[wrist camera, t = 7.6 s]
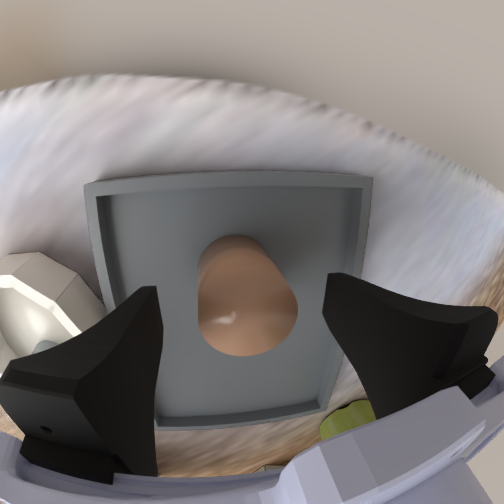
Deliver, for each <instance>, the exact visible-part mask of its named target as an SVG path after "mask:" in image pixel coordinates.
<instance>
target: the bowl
mask: <svg viewBox="0 0 504 504" xmlns="http://www.w3.org/2000/svg"><path fill="white" fill-rule="evenodd" d="M105 316H107V312H106V308H105V306H104V305H103V304H102V303H101V302H100V300H99V299H98V298H97V297H96V296H95V294H94V293H93V292H92V291H91V289H90V288H89V287H88V286H87V284H86V283H85V282H84V281H83V279H82V278H81V277H80V276H79V274H78V273H76V272H74V271H72V270H70V269H68V268H67V267H65V266H63V265H61V264H59V263H58V262H56V261H54V260H52V259H51V258H49V257H47V256H45V255H44V254H42V253H40V252H32V253H21V254H9V255H7V256H5V257H4V258H3V259H1V260H0V377H1V376H2V374H3V372H4V370H5V369H6V367H7V365H8V364H9V362H10V360H13V359H17V358H21V357H24V356H28V355H31V353H32V352H33V350H34V349H35V347H36V345H37V344H38V343H39V342H41V341H52V342H55V343H57V344H61V343H63V342H65V341H67V340H69V339H71V338H73V337H75V336H77V335H79V334H80V333H82V332H84V331H85V330H87V329H89V328H90V327H92V326H93V325H95V324H96V323H98V322H99V321H100V320H102V319H103V318H104V317H105Z"/></svg>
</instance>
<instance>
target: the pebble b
mask: <svg viewBox="0 0 504 504" xmlns="http://www.w3.org/2000/svg"><path fill="white" fill-rule="evenodd" d="M297 315H298V304H297V300H296V297H295V295H294V293H293V291H292V290H291V288H290V287H289V285H288V284H287V282H286V281H285V279H284V277H283V276H282V274H281V273H280V271H279V270H278V268H277V267H276V265H275V264H274V262H273V261H272V259H271V257H270V256H269V254H268V253H267V251H266V250H265V248H264V247H263V246H262V245H261V244H260V243H259V242H258V241H256V240H255V239H253V238H251V237H248V236H245V235H227V236H223V237H221V238H218V239H216V240H215V241H213V242H212V243H210V244H209V245H208V246H207V247H206V249H205V250H204V251H203V253H202V254H201V257H200V259H199V262H198V324H199V329H200V331H201V334H202V335H203V337H204V339H205V340H206V341H207V342H208V343H209V344H210V345H211V346H212V347H214V348H215V349H217V350H218V351H220V352H223V353H225V354H229V355H234V356H252V355H257V354H261V353H264V352H266V351H268V350H270V349H272V348H274V347H276V346H277V345H279V344H280V343H281V342H282V341H283V340H284V339H285V338H286V337H287V336H288V335H289V334H290V332H291V331H292V329H293V327H294V325H295V323H296V320H297Z"/></svg>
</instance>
